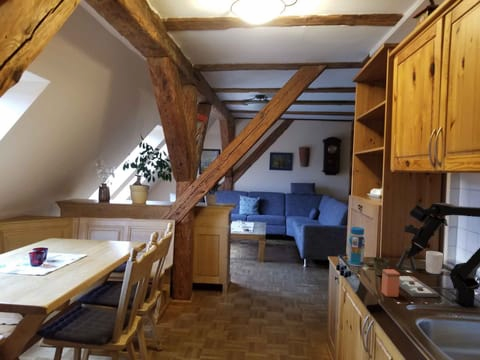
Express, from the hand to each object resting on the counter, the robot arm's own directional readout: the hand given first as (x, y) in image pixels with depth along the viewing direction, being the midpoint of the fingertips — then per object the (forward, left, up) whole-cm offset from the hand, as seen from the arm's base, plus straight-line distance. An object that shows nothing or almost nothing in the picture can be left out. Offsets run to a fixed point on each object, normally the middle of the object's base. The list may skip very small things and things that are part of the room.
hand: (408, 256), depth 150 cm
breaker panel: (0, -3, -14) cm, 15 cm away
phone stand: (+26, -14, -15) cm, 33 cm away
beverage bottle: (+31, +12, -14) cm, 36 cm away
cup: (+15, +5, -14) cm, 21 cm away
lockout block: (-8, +11, -14) cm, 20 cm away
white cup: (+22, -26, -14) cm, 37 cm away
